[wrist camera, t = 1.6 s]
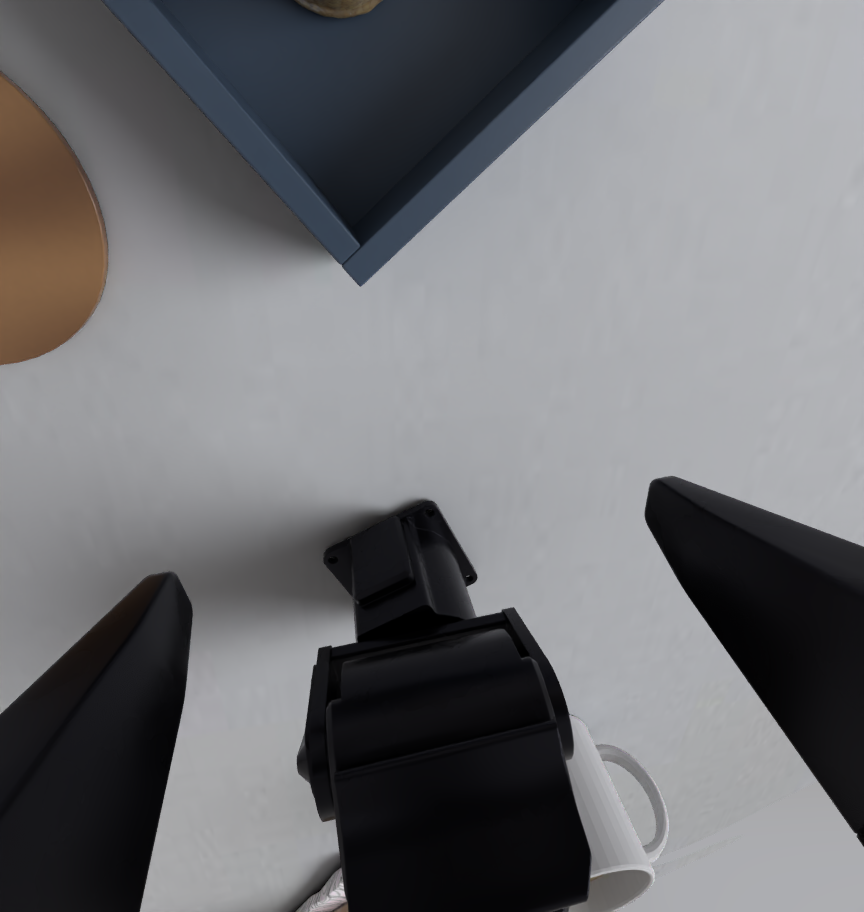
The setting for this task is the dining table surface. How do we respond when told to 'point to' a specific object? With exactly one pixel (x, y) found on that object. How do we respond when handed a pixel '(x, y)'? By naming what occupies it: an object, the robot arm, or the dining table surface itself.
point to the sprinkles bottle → (339, 7)
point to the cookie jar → (328, 897)
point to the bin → (375, 96)
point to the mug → (612, 824)
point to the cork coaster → (44, 233)
